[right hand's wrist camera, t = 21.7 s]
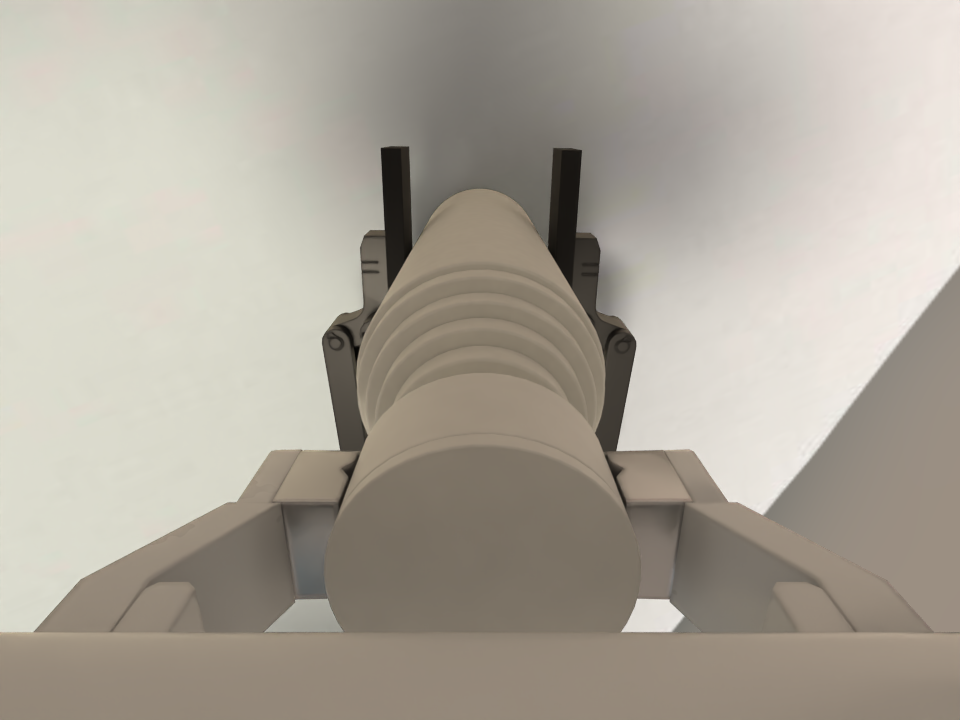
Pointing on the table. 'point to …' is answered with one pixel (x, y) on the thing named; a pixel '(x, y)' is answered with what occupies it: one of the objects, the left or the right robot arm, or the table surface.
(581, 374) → the bottle
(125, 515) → the table surface
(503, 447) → the cap
